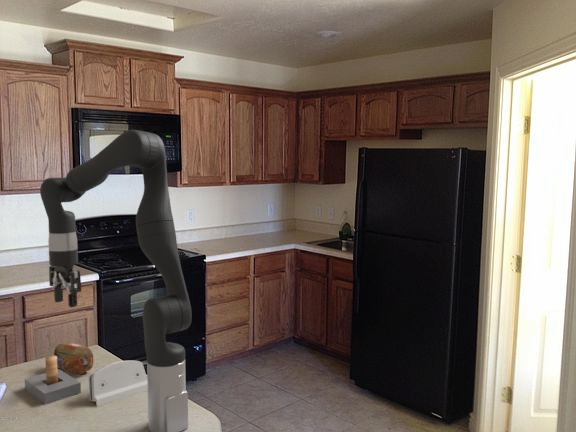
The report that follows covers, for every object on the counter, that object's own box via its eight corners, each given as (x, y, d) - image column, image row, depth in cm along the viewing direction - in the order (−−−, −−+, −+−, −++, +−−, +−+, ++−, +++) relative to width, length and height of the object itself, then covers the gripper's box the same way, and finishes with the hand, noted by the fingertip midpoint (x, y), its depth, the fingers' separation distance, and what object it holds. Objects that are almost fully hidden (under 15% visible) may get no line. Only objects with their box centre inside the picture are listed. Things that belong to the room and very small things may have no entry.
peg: (60, 390, 152) (58, 357, 151) (49, 394, 150) (48, 360, 149) (55, 387, 154) (54, 354, 153) (45, 391, 152) (43, 357, 151)
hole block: (80, 392, 151) (80, 382, 151) (45, 404, 144) (44, 393, 144) (59, 378, 161) (58, 369, 161) (25, 388, 154) (24, 378, 153)
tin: (53, 367, 169) (52, 342, 168) (61, 364, 172) (60, 339, 171) (87, 376, 163) (87, 350, 162) (95, 372, 166) (94, 346, 165)
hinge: (96, 407, 143) (89, 369, 144) (89, 407, 146) (83, 370, 148) (152, 389, 154) (146, 354, 156) (145, 389, 158) (138, 355, 159)
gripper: (88, 249, 148) (90, 305, 150) (64, 244, 158) (66, 297, 159) (62, 252, 143) (64, 311, 144) (38, 247, 152) (41, 302, 154)
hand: (65, 304), depth 152 cm, fingers open, 8 cm apart
